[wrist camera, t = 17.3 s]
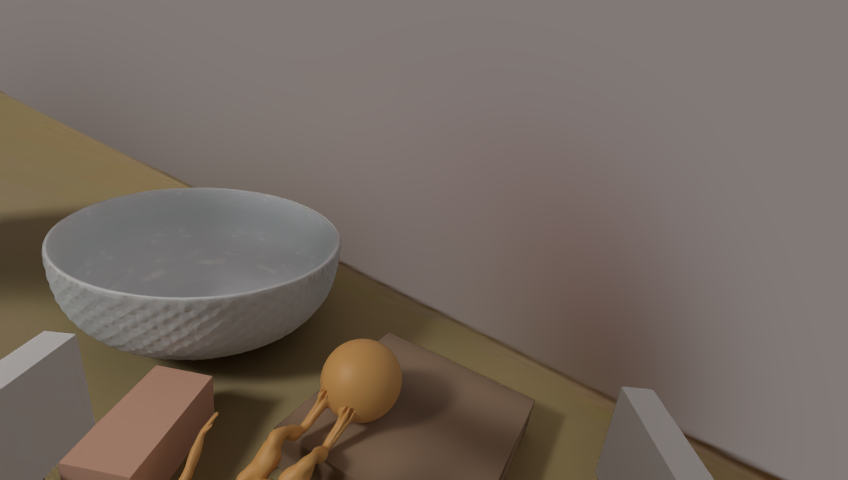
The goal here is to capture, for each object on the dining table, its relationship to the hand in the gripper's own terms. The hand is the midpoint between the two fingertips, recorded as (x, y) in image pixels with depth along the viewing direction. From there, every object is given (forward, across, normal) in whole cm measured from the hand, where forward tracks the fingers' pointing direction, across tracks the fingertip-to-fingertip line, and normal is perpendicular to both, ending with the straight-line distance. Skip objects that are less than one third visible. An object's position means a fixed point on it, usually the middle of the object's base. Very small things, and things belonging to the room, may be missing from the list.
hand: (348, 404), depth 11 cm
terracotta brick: (+7, -10, -11) cm, 17 cm away
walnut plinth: (+10, +2, -12) cm, 16 cm away
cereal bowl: (+18, -13, -10) cm, 25 cm away
